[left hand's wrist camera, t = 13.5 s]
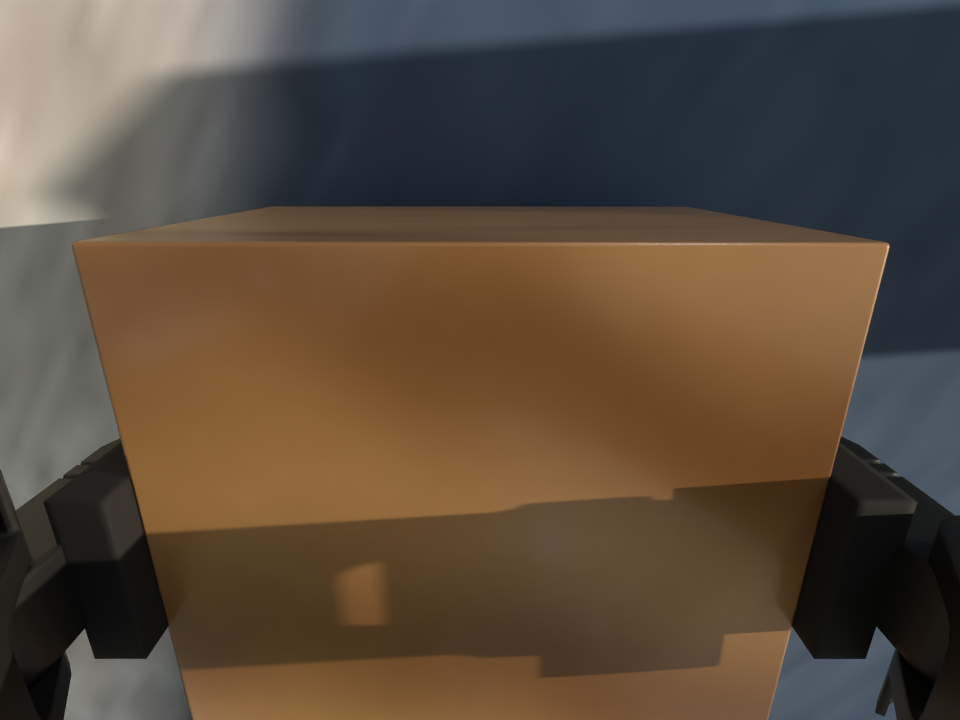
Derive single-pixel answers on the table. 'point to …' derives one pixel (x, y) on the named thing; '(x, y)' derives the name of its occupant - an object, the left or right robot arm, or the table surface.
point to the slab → (480, 452)
